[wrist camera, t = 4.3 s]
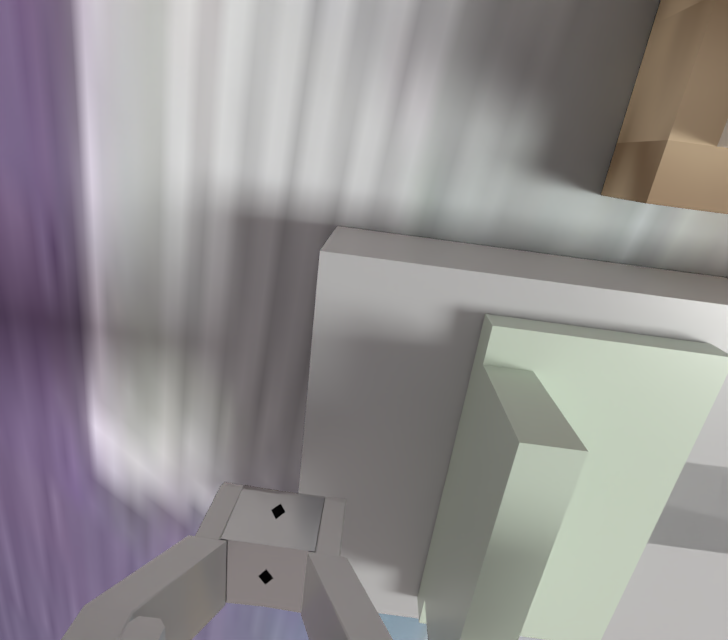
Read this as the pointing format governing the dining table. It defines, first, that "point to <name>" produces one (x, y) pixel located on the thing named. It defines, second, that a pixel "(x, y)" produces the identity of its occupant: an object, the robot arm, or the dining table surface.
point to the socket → (447, 394)
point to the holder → (677, 113)
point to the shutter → (559, 476)
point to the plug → (724, 137)
